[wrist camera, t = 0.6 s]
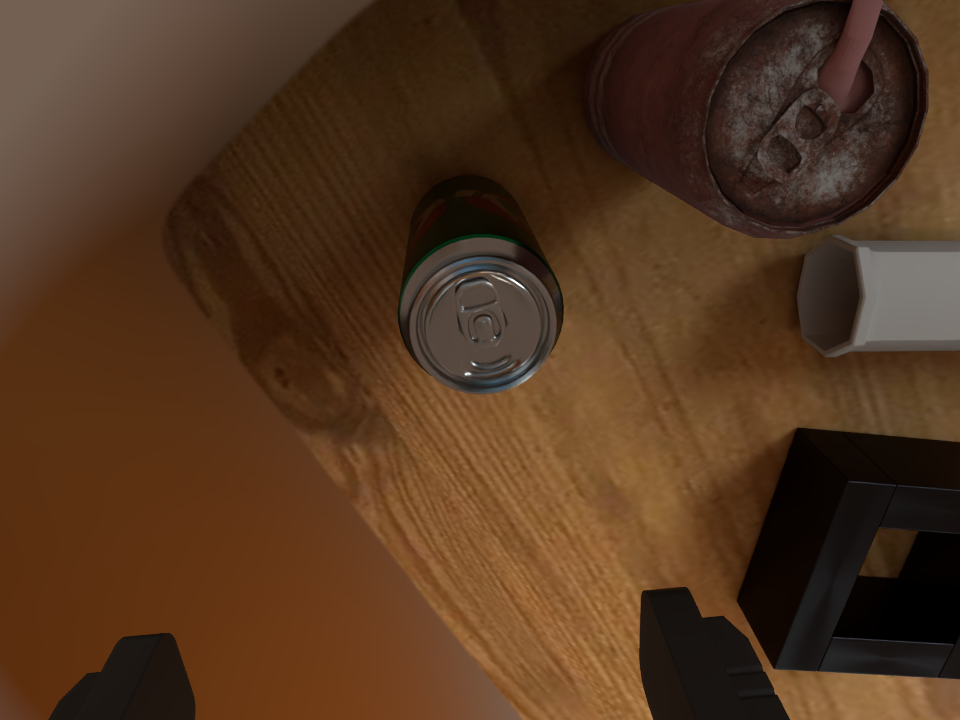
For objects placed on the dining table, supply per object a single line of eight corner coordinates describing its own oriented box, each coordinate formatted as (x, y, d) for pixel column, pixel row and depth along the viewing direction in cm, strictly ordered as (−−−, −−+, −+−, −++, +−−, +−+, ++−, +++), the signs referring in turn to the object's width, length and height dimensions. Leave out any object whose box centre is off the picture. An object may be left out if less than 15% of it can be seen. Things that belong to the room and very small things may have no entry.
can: (740, 8, 28) (989, -26, 16) (708, 169, 31) (900, 254, 18) (591, -4, 28) (722, -50, 15) (572, 161, 30) (670, 241, 18)
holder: (735, 600, 41) (773, 669, 36) (796, 427, 36) (848, 481, 32) (920, 612, 42) (979, 681, 38) (1001, 445, 38) (1079, 500, 33)
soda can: (427, 297, 33) (422, 423, 22) (396, 189, 30) (373, 268, 20) (534, 270, 32) (584, 384, 21) (510, 160, 30) (551, 223, 19)
